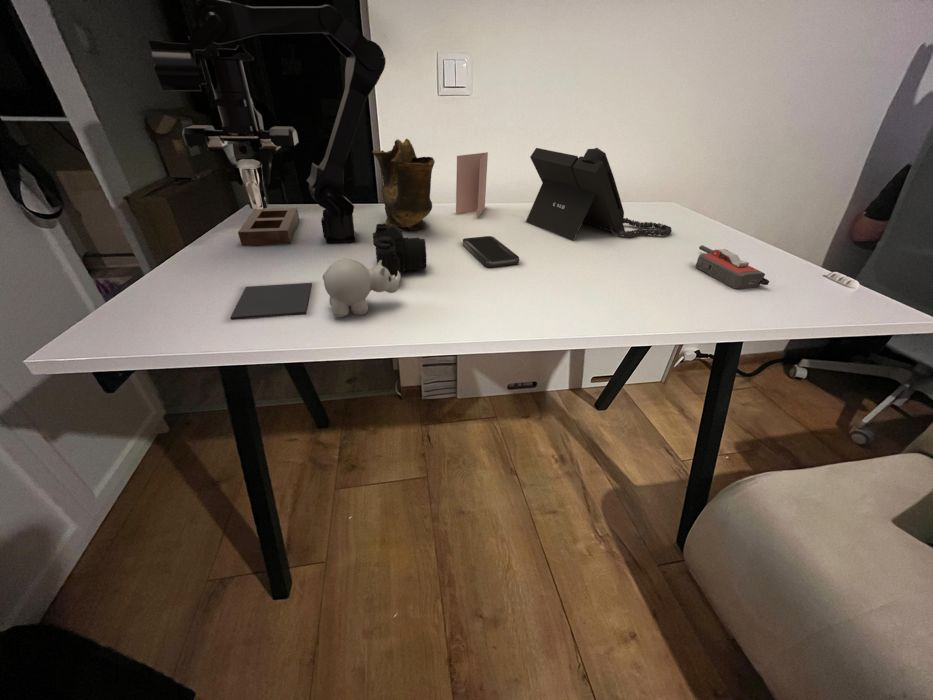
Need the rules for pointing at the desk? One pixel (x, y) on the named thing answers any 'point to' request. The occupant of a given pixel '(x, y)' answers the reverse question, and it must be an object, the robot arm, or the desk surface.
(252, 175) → the milkshake
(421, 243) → the film camera
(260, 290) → the mat
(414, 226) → the pottery vessel
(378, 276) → the round bodied animal figurine
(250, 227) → the rack
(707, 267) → the walkie-talkie
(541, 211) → the office phone
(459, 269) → the desk surface
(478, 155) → the greeting card
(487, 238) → the phone
